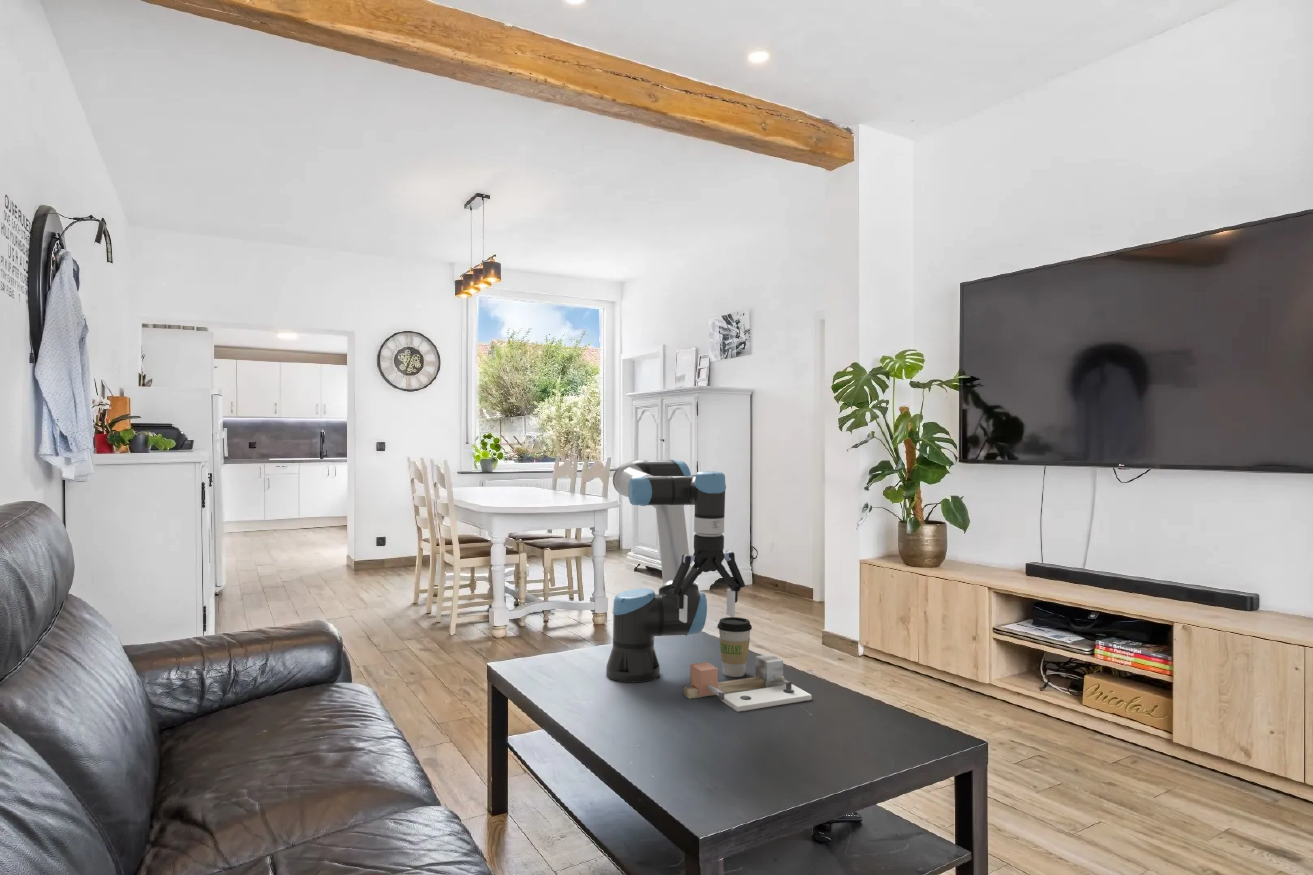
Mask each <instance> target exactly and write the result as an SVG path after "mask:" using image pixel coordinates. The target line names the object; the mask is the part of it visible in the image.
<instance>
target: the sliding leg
mask: <svg viewBox="0 0 1313 875" xmlns="http://www.w3.org/2000/svg"><path fill="white" fill-rule="evenodd" d="M689 666H690V670H689V671H690V672H689V675H690V676H689V684H690V686H695V687H696V688H698V689H699V695H700V696H702V695H709V694H716V695H715V696H718V700H720V701H721V700H724V694H725V693H724V692H722V691H720V690H719V689H717V688H718V682H719V668H718V667H717V666H715V665H712V664H711V663H709V662H708V661H705V662H698V663H690V665H689Z"/></svg>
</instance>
